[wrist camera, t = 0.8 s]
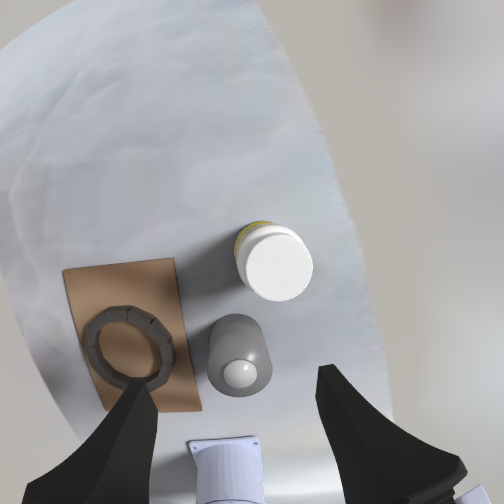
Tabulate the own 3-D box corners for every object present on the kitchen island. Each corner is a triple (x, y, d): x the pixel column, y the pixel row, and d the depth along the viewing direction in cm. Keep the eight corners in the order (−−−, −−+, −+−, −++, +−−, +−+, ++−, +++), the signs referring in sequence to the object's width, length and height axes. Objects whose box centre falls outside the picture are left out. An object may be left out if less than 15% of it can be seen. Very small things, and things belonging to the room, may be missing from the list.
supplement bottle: (291, 271, 26) (321, 302, 17) (237, 279, 25) (243, 314, 17) (285, 216, 25) (316, 223, 17) (230, 223, 25) (233, 233, 16)
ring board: (202, 407, 27) (201, 419, 25) (107, 407, 26) (102, 418, 24) (173, 257, 25) (169, 262, 23) (65, 269, 24) (55, 273, 22)
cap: (264, 356, 27) (275, 395, 21) (213, 362, 27) (212, 402, 20) (259, 310, 26) (271, 342, 20) (206, 316, 26) (202, 350, 19)
